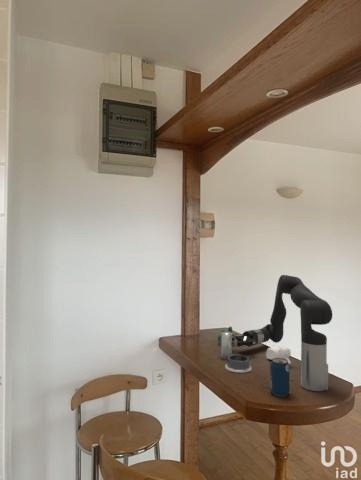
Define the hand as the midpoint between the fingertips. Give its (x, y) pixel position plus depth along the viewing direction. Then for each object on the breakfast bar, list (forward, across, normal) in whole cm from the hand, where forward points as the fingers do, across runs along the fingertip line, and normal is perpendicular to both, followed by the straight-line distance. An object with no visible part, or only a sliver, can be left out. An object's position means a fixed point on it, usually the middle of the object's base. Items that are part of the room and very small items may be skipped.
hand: (231, 342), depth 171 cm
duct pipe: (+3, 0, +7) cm, 8 cm away
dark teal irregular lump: (-13, -16, +7) cm, 22 cm away
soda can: (+16, +40, +7) cm, 44 cm away
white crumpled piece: (-12, +19, +7) cm, 24 cm away
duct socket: (+9, +13, +7) cm, 18 cm away
